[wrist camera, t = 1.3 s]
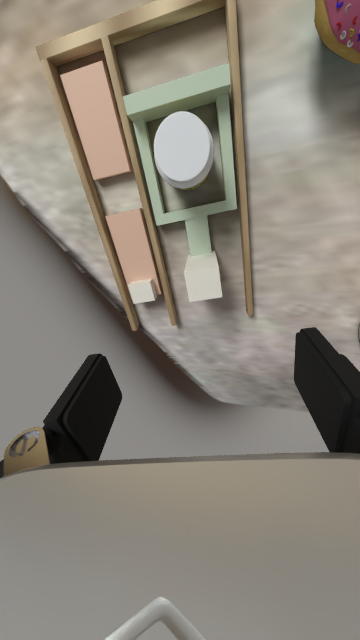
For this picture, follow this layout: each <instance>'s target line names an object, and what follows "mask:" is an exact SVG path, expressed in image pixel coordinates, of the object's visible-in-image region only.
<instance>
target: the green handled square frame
mask: <svg viewBox="0 0 360 640" xmlns="http://www.w3.org/2000/svg"><path fill="white" fill-rule="evenodd" d="M230 85H231V82H230V68H229V63H227V64H223V65H220V66H217V67H214V68H211V69H208V70H205V71H201V72H198V73H195V74H192V75H189V76H186V77H182V78H179V79H176V80H173V81H170V82H167V83H164V84H160V85H157V86H154V87H151V88H148V89H145V90H142V91H138V92H135V93H132V94H129V95H126V96H123V100H124V105H125V109H126V113H127V116H128V117H129V118H130V119H131V120H132V121H133V125H134V129H135V133H136V138H137V142H138V146H139V151H140V155H141V160H142V164H143V168H144V173H145V177H146V181H147V186H148V190H149V195H150V199H151V203H152V208H153V212H154V216H155V221H156V225H157V226H158V225H163V224H168V223H173V222H177V221H182V220H185V225H186V230H187V236H188V242H189V248H190V253H191V255H188V258H187V262H186V267H185V271H184V275H185V281H186V286H187V291H188V296H189V301H190V302H193V301H200V300H207V299H213V298H220V297H222V290H221V282H220V274H219V266H218V262H217V257H216V253H215V251H212V250H211V243H210V235H209V228H208V220H207V215H211V214H216V213H220V212H225V211H230V210H235V209H237V203H236V189H235V176H234V162H233V149H232V135H231V122H230V109H229V95H228V93H229V89H230ZM213 102H216V109H217V120H218V130H219V141H220V151H221V162H222V173H223V183H224V194H225V200H224V201H219V202H214V203H210V204H205V205H201V206H196V207H191V208H187V209H182V210H178V211H173V212H168V213H165V211H164V206H163V201H162V196H161V191H160V187H159V182H158V177H157V172H156V167H155V163H154V158H153V153H152V148H151V143H150V139H149V134H148V129H147V124H146V122H148V121H151V120H155V119H158V118H162V117H165V116H169V115H171V114H173V113H176V112H180V111H186V110H189V109H193V108H196V107H199V106H203V105H206V104H210V103H213Z"/></svg>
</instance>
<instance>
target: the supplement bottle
mask: <svg viewBox="0 0 360 640" xmlns="http://www.w3.org/2000/svg"><path fill="white" fill-rule="evenodd" d="M154 158H155V163H156V167H157V169H158V172H159V173H160V175H161V177H162V178H163V179H164V180H165V181H166V182H167V183H168V184H169V185H171V186H173V187H175V188H178V189H181V190H192V189H195V188H197V187H199V186H200V185H201V184H202V183H203V182H204V181H205V179H206V178H207V176H208V174H209V172H210V169H211V167H212V163H213V159H214V143H213V139H212V136H211V133H210V131H209V129H208V128H207V126H206V125H205V124H204V123H203V122H202V121H201V120H200V119H199V118H198V117H197V116H196V115H194V114H192V113H190V112H184V111H180V112H176V113H173V114H171V115H169V116H168V117H167V118H166V119H165V120H163V122H162V123H161V124H160V126H159V128H158V130H157V132H156V135H155V140H154Z"/></svg>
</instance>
